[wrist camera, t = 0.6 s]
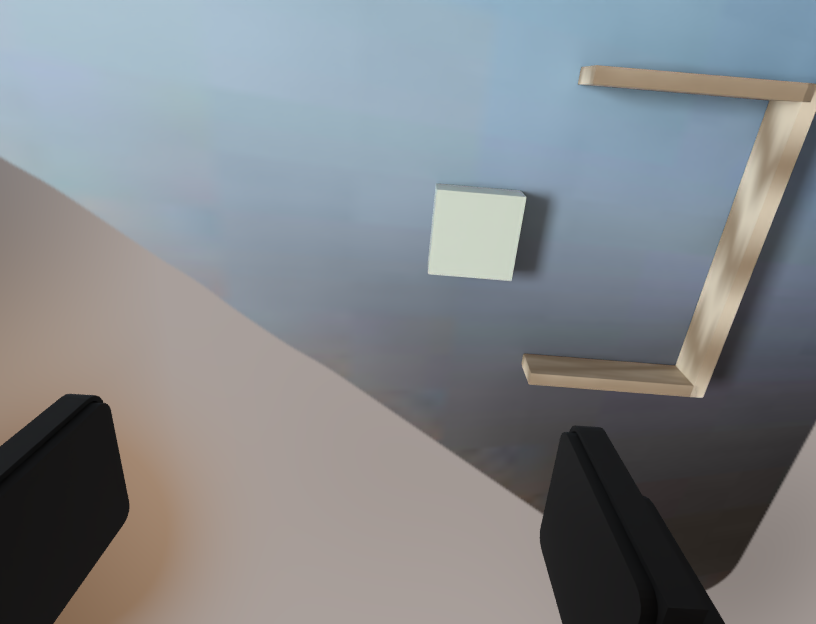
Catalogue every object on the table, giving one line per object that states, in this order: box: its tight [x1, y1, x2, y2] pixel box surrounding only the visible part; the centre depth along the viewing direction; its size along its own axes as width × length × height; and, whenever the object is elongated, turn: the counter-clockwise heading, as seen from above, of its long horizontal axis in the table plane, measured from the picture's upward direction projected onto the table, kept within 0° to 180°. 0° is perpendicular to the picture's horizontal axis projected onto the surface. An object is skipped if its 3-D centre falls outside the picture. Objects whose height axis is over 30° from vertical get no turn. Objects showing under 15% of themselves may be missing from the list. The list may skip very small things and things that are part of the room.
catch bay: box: [522, 65, 816, 398], centre depth 35 cm, size 22×14×3 cm, turn 176°
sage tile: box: [428, 184, 526, 281], centre depth 35 cm, size 6×6×2 cm
